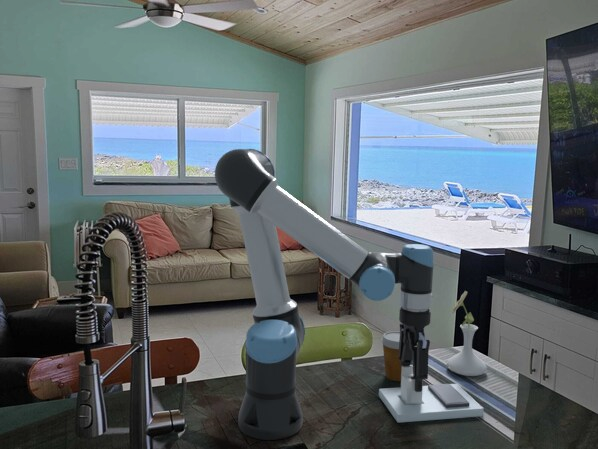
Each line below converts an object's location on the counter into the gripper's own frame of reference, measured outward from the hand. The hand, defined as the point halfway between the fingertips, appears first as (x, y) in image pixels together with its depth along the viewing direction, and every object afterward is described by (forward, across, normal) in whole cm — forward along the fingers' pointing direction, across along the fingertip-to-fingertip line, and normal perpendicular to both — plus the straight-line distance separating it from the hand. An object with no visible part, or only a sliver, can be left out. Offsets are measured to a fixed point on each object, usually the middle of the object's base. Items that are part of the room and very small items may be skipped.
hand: (410, 396), depth 134 cm
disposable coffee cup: (+3, +18, -3) cm, 19 cm away
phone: (+1, 0, -10) cm, 10 cm away
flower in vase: (+3, +18, -24) cm, 30 cm away
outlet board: (+3, 0, -5) cm, 6 cm away
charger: (+3, 0, 0) cm, 3 cm away
